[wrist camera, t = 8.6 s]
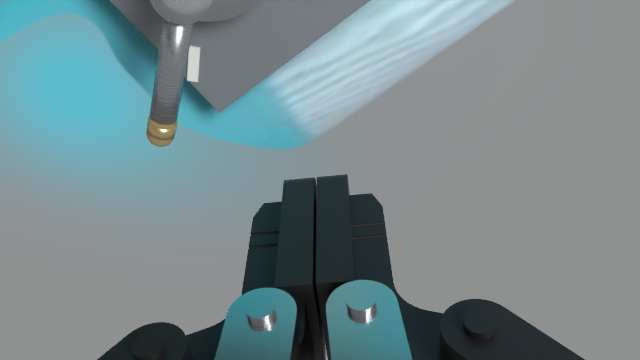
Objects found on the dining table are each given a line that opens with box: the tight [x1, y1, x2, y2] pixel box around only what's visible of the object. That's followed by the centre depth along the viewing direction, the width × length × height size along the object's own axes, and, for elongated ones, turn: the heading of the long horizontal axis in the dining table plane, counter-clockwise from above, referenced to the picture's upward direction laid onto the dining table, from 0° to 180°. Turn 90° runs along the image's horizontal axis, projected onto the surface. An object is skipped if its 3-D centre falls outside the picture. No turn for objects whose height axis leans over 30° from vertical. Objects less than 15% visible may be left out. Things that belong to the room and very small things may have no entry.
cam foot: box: [147, 0, 260, 147], centre depth 34 cm, size 16×9×6 cm, turn 164°
